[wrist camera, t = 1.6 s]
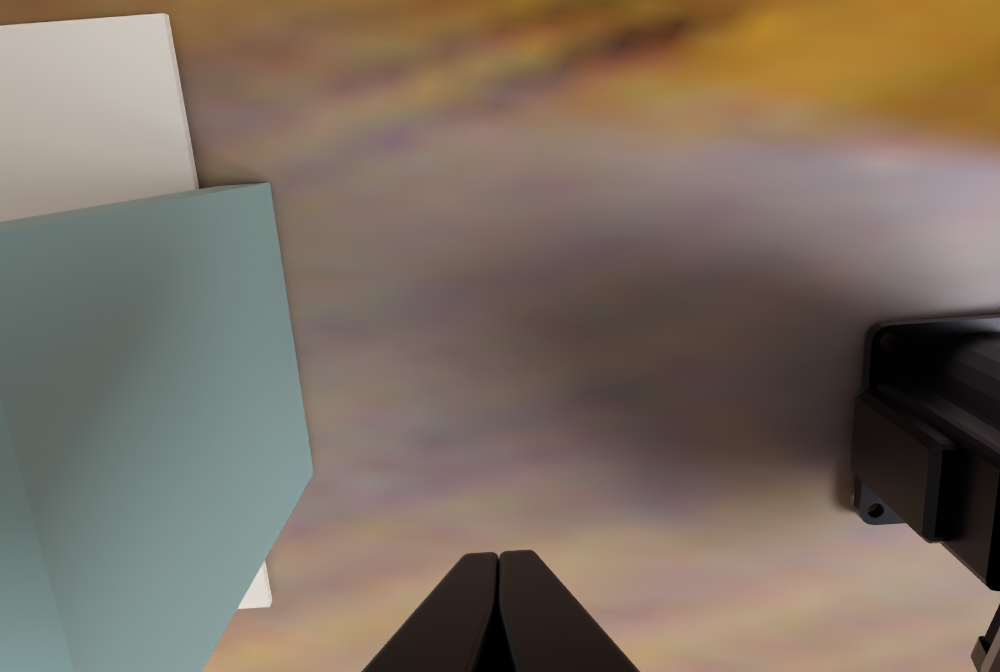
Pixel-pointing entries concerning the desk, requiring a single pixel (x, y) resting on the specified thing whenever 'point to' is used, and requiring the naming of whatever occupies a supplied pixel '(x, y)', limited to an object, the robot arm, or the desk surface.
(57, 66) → the mat
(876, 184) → the desk surface
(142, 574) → the tile
